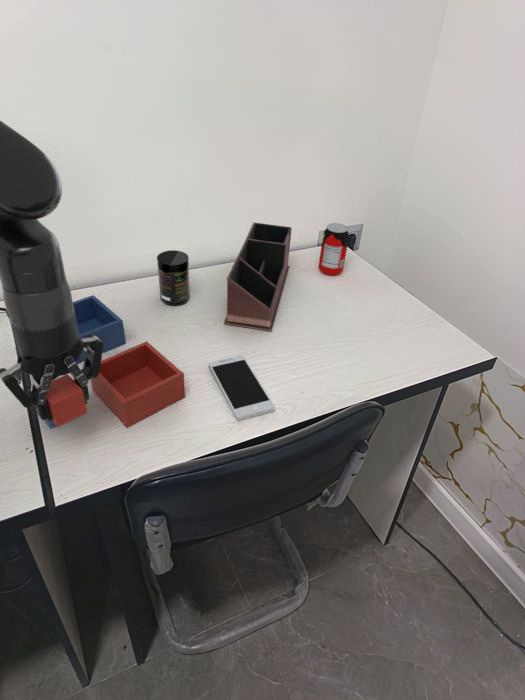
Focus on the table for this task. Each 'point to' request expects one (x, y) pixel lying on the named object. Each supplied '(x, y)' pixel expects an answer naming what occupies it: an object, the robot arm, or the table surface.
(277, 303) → the desk organizer
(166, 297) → the supplement container
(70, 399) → the red block
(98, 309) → the blue bin
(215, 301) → the table surface
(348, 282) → the table surface
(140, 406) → the red bin
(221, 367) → the smartphone
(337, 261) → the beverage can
